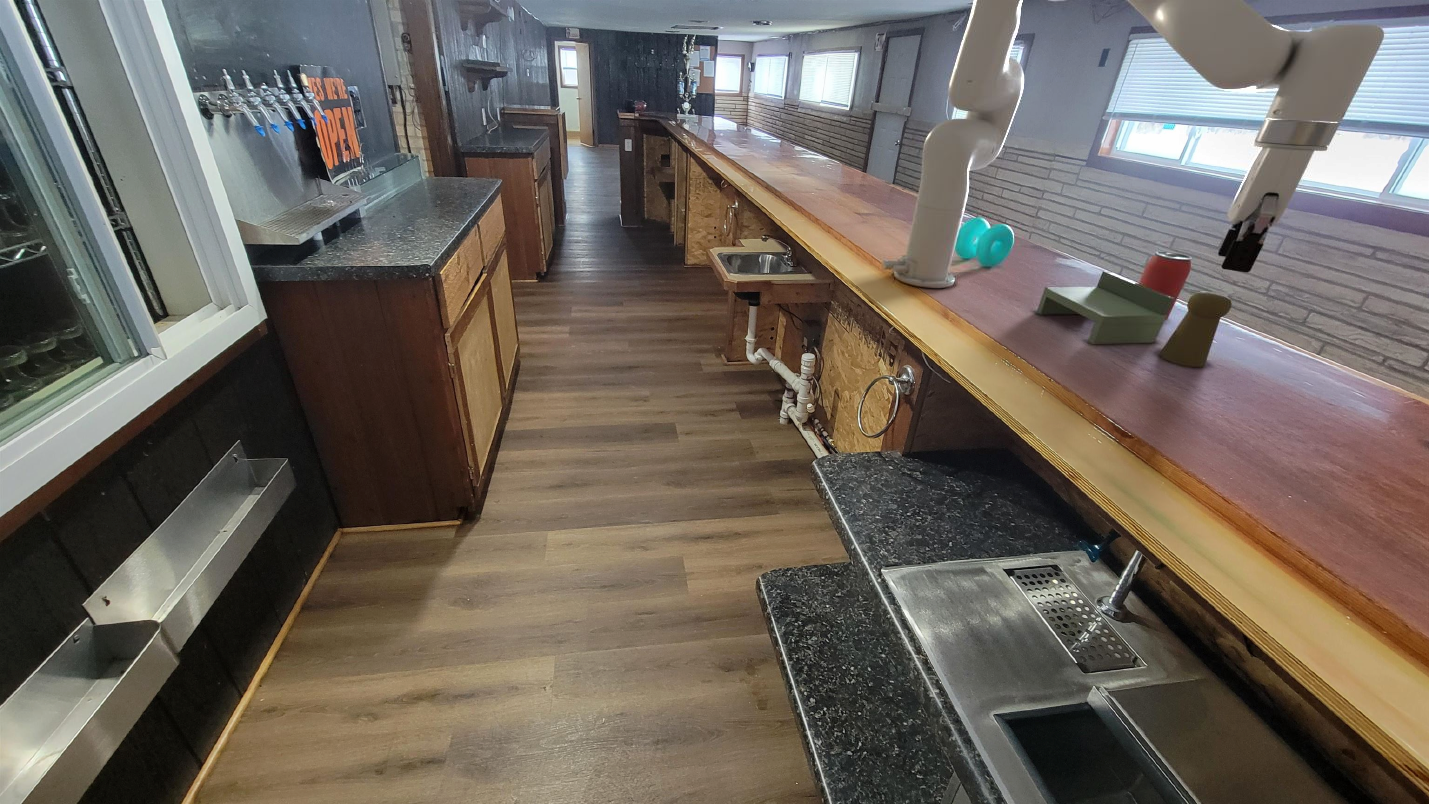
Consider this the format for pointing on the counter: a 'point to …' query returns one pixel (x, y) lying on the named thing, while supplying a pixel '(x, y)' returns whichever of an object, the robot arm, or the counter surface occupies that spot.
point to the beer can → (1167, 274)
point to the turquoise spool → (984, 241)
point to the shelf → (1112, 309)
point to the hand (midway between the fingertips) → (1232, 263)
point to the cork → (1196, 329)
